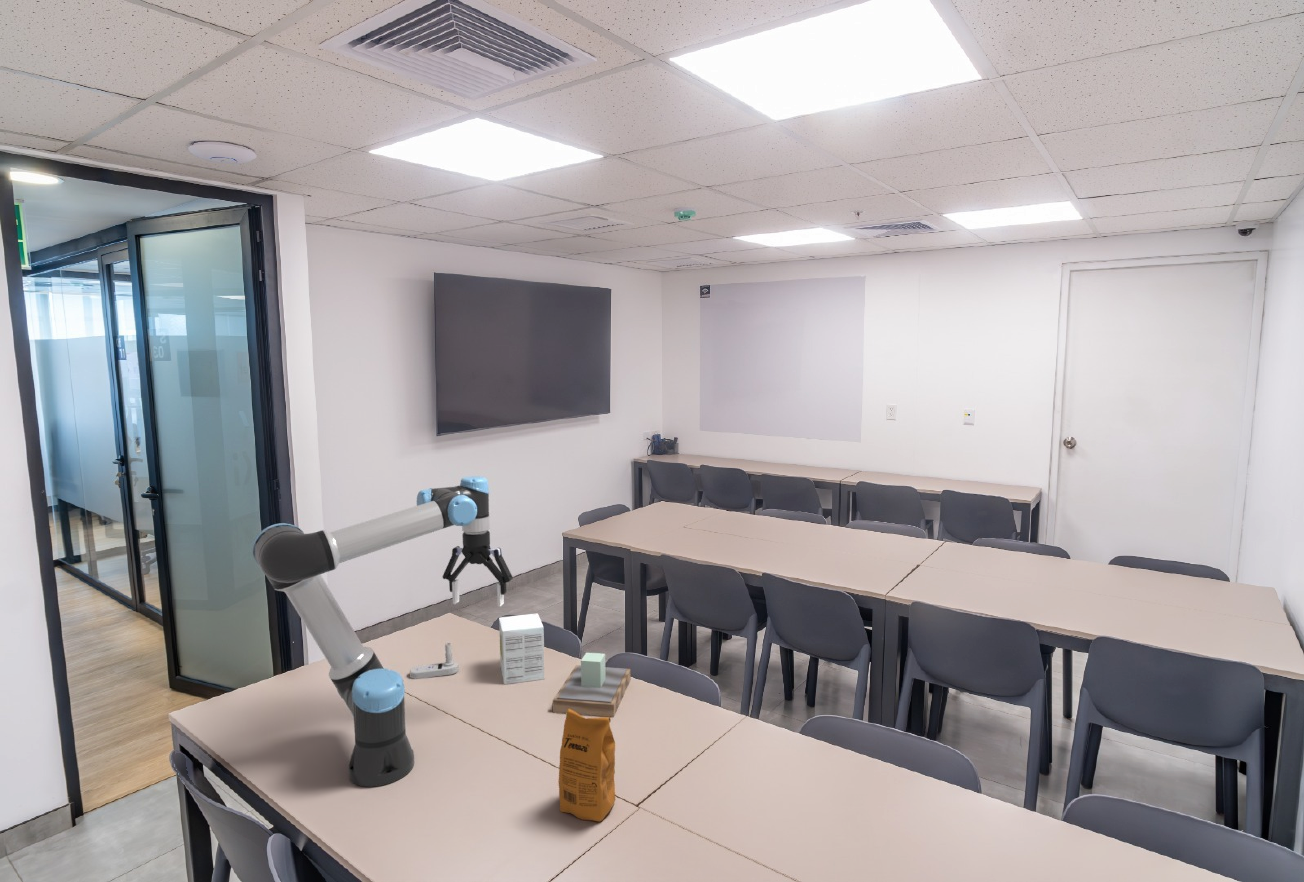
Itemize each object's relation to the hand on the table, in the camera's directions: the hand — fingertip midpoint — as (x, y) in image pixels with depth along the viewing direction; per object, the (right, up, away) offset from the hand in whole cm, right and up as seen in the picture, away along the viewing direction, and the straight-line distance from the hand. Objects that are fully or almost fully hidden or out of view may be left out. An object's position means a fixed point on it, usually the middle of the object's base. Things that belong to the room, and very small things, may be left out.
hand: (478, 604), depth 194 cm
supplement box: (+7, -29, +27) cm, 41 cm away
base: (+32, -31, +12) cm, 46 cm away
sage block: (+32, -27, +11) cm, 43 cm away
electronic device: (-21, -30, +27) cm, 46 cm away
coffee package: (+35, -36, -41) cm, 65 cm away
